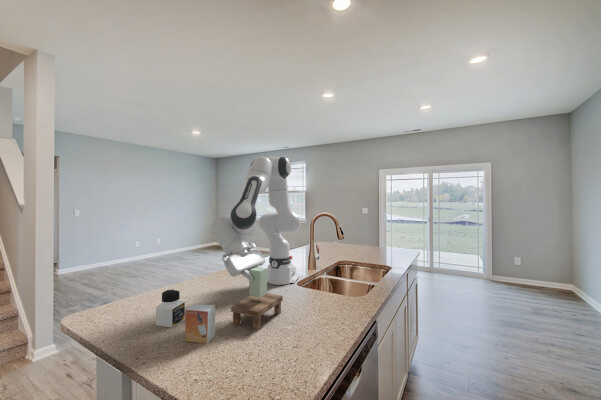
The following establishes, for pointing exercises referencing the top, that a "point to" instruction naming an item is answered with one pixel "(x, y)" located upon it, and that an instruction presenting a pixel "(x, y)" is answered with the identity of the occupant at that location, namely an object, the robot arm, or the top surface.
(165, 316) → the medicine bottle
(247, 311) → the stool
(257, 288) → the green block
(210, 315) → the small box
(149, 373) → the top surface
